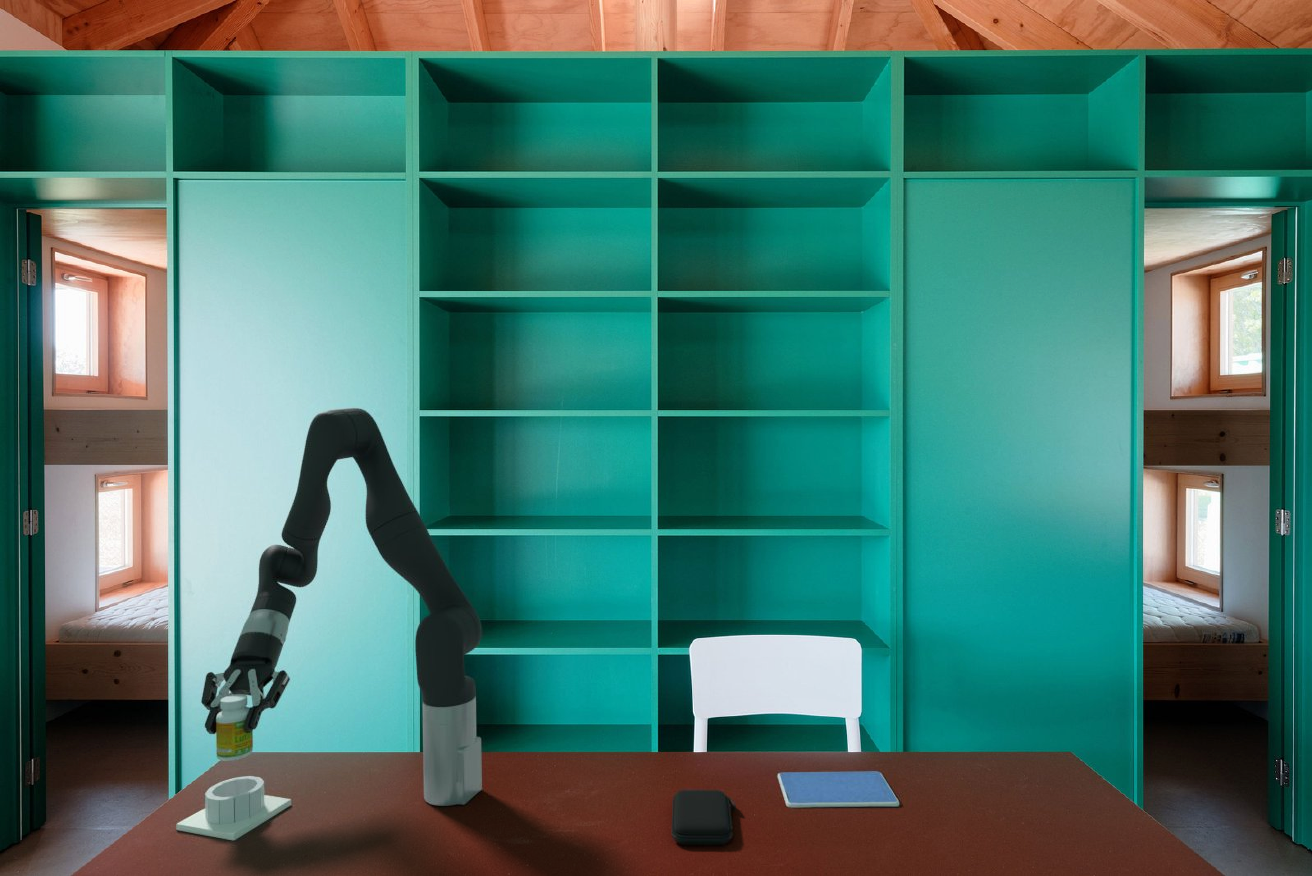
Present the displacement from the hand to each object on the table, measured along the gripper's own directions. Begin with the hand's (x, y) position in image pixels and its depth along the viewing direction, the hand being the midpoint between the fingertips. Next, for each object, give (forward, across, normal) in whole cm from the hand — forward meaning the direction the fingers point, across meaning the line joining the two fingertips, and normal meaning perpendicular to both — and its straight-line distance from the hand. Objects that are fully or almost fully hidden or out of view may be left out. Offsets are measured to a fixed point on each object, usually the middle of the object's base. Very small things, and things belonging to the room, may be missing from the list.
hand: (229, 731), depth 126 cm
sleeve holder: (+10, 0, +12) cm, 15 cm away
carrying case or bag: (+16, +79, +6) cm, 81 cm away
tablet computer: (+9, +104, +13) cm, 105 cm away
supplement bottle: (+2, 0, +5) cm, 5 cm away
